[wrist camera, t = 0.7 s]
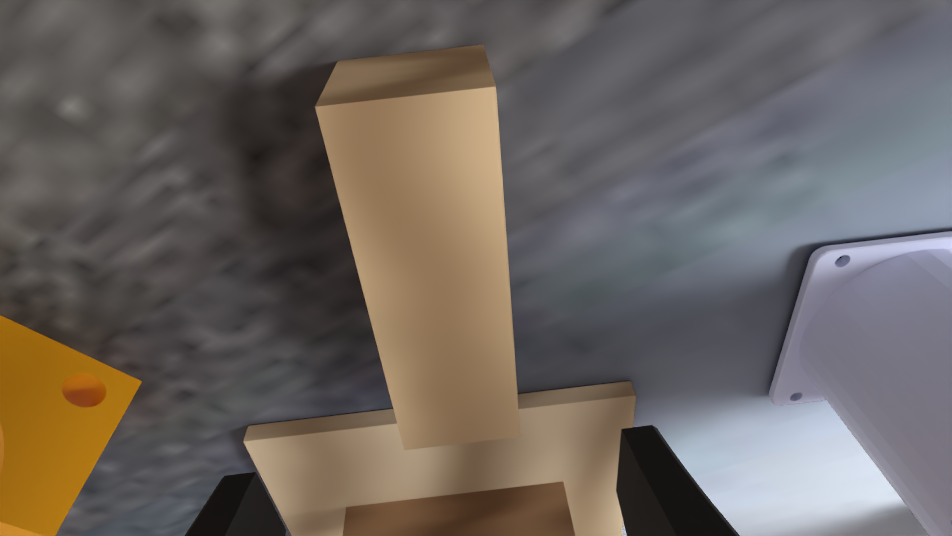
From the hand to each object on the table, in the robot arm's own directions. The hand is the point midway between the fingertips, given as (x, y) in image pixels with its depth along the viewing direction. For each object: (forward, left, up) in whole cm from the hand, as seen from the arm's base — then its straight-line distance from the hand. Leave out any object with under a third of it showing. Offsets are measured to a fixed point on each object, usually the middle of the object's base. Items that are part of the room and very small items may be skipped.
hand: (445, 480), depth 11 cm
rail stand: (+1, +17, -9) cm, 19 cm away
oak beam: (0, 0, -10) cm, 10 cm away
